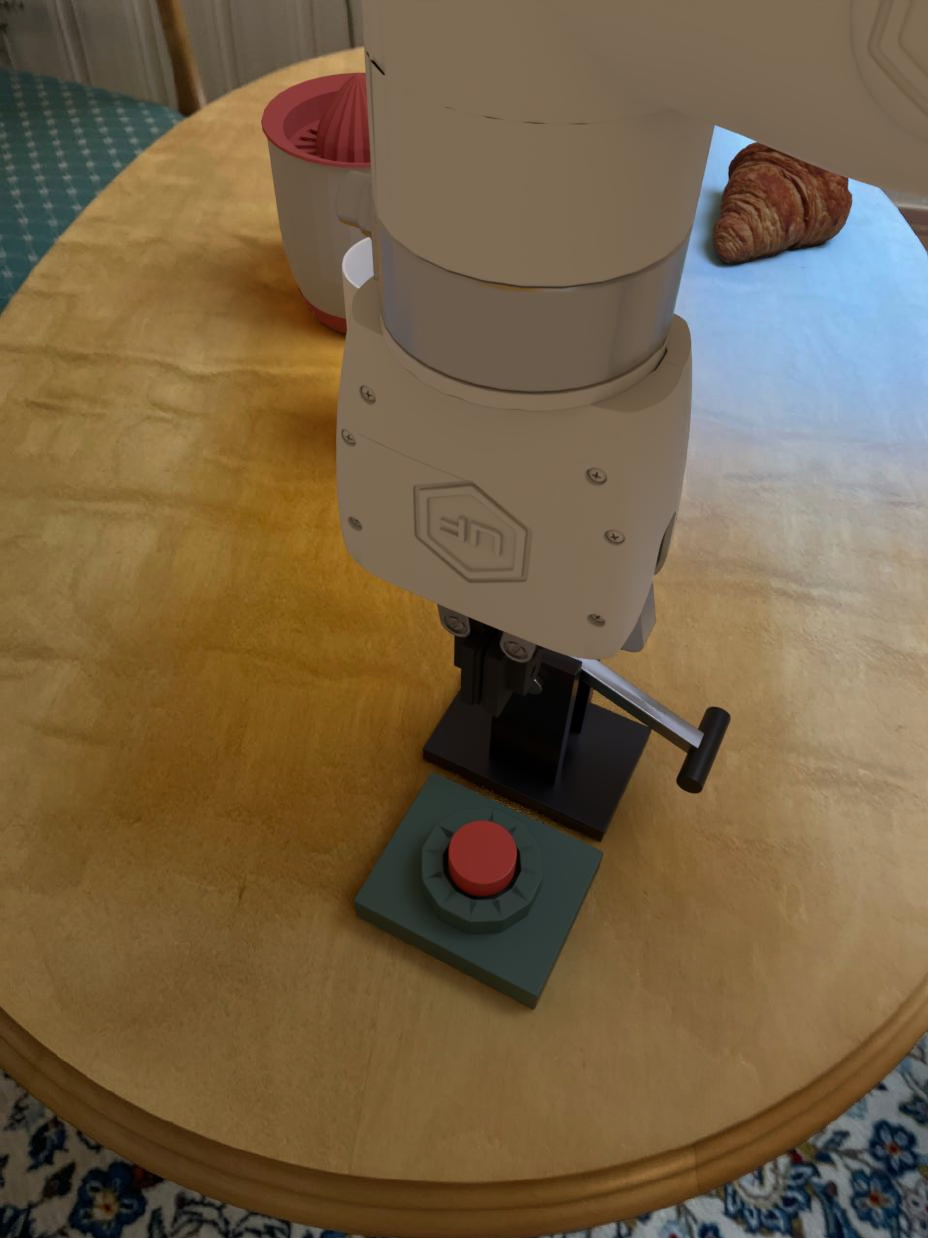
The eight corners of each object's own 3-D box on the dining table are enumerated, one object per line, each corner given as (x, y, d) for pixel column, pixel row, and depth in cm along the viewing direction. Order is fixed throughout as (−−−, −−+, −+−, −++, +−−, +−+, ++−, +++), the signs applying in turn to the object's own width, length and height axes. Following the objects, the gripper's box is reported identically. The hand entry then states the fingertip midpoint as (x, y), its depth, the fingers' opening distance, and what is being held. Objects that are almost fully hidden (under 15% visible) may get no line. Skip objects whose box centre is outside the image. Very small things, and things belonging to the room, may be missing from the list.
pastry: (871, 272, 95) (902, 193, 88) (713, 267, 95) (733, 188, 88) (834, 183, 105) (859, 107, 99) (692, 179, 105) (708, 102, 99)
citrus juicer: (505, 303, 90) (519, 76, 75) (352, 377, 83) (332, 143, 68) (403, 231, 98) (395, 10, 82) (254, 293, 91) (215, 65, 75)
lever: (717, 729, 55) (741, 714, 53) (687, 799, 52) (712, 786, 50) (541, 608, 55) (559, 588, 53) (502, 673, 52) (519, 654, 50)
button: (526, 852, 53) (528, 838, 52) (496, 908, 51) (498, 895, 50) (467, 823, 54) (467, 809, 53) (436, 878, 52) (436, 864, 51)
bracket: (649, 739, 62) (689, 614, 52) (601, 842, 57) (635, 728, 47) (480, 666, 65) (487, 535, 55) (422, 759, 60) (418, 635, 50)
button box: (599, 867, 56) (608, 837, 53) (534, 1010, 51) (540, 986, 48) (432, 788, 59) (431, 755, 56) (355, 916, 54) (350, 887, 51)
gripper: (191, 261, 24) (285, 679, 39) (778, 457, 20) (637, 842, 35) (349, 134, 28) (380, 555, 43) (862, 276, 24) (705, 687, 39)
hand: (495, 682), depth 39 cm, fingers closed
